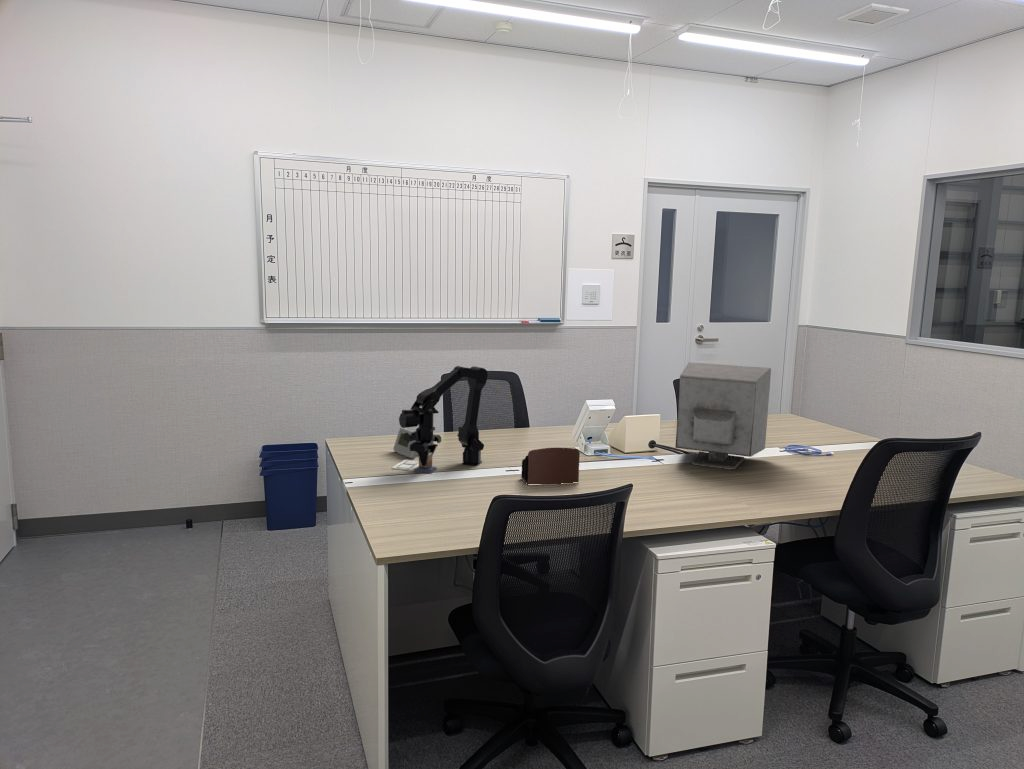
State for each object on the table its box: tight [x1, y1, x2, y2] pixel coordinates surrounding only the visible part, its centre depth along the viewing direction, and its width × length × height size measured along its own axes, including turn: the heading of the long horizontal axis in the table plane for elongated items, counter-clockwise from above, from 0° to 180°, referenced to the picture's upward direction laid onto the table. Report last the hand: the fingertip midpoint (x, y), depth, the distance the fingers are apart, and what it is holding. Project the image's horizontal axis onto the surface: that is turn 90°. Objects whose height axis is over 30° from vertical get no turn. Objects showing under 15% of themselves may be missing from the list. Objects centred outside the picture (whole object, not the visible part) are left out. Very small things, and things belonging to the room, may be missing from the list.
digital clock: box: [392, 426, 419, 460], centre depth 312 cm, size 16×9×11 cm, turn 27°
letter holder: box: [520, 447, 581, 485], centre depth 277 cm, size 10×20×14 cm, turn 103°
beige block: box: [418, 452, 433, 469], centre depth 288 cm, size 4×4×6 cm
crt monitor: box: [675, 361, 772, 470], centre depth 308 cm, size 35×37×40 cm
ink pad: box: [414, 465, 438, 475], centre depth 288 cm, size 7×6×1 cm
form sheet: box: [391, 459, 419, 472], centre depth 295 cm, size 9×13×1 cm
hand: (425, 464), depth 288 cm, fingers closed on beige block, 4 cm apart
